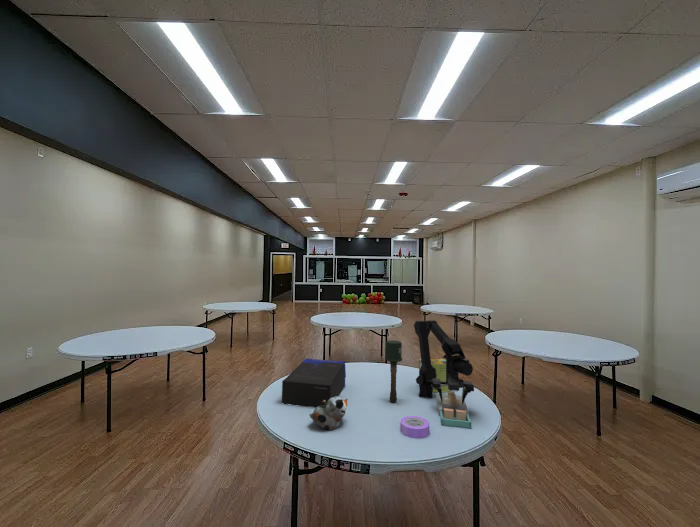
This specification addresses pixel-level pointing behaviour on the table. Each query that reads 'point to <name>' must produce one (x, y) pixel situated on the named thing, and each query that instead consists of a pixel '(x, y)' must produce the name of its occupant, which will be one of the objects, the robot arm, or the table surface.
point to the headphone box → (314, 382)
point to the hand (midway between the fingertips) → (452, 402)
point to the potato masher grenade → (393, 364)
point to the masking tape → (414, 427)
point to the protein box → (439, 372)
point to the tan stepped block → (453, 402)
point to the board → (439, 403)
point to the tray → (456, 422)
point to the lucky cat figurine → (330, 412)
